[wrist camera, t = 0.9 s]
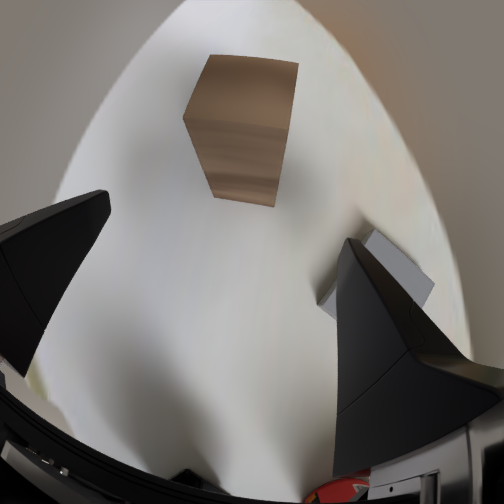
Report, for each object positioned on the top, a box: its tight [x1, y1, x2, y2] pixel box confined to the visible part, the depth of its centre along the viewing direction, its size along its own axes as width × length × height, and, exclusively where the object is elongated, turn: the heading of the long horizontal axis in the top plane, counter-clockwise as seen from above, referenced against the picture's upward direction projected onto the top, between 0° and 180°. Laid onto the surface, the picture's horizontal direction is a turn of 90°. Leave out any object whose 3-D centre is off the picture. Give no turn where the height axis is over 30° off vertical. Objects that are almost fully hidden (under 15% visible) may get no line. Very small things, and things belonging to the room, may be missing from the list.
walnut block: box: [183, 55, 299, 207], centre depth 19 cm, size 6×6×12 cm
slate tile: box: [317, 229, 435, 321], centre depth 22 cm, size 8×8×2 cm
